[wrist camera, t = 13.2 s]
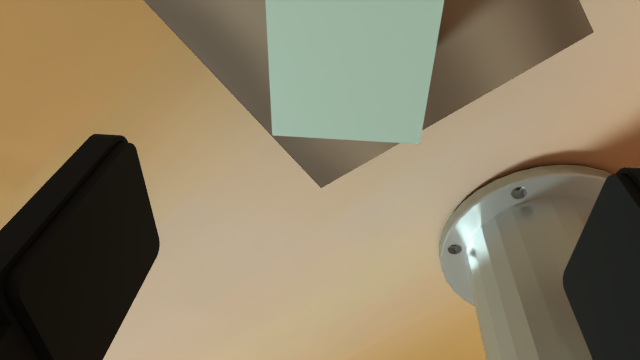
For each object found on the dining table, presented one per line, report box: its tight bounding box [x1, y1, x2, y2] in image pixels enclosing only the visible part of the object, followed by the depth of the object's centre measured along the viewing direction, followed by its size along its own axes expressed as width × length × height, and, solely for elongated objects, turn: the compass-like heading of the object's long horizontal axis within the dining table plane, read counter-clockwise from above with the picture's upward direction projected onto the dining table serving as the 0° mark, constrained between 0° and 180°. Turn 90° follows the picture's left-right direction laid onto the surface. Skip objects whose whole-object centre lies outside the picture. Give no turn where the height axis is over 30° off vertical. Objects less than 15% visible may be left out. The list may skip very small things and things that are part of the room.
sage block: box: [265, 0, 444, 144], centre depth 17 cm, size 5×5×6 cm
